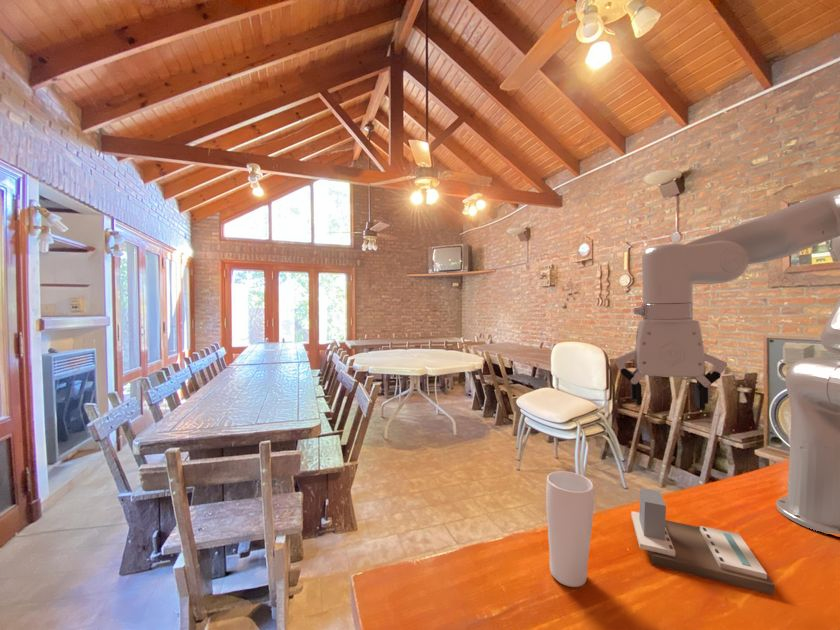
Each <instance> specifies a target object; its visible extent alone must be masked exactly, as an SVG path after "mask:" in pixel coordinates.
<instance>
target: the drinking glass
mask: <svg viewBox="0 0 840 630" xmlns="http://www.w3.org/2000/svg"><path fill="white" fill-rule="evenodd" d="M594 493H595V491H594V483H593V482H592V481H591V480H590V479H589V478H587V477H585V476H584V475H581V474H579V473H575V472H572V471H565V470H556V471H553V472H550V473H549V474H547V476H546V488H545V511H546V520H547V521H546V523H547V524H546V525H547V537H548V549H549V551H548V552H549V570H550V574H551V576H552V577H553V578H554V579H555V580H556V581H557V582H558V583H560V584H562V585H564V586H566V587H569V588H570V587H571V588H578V587H582V586H583V585H584V584H586V582H587V578H588V562H589V555H590V545H591V537H592V529H593V523H594V521H593V520H594V510H595V509H594V508H595V495H594Z"/></svg>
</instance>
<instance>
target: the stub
mask: <svg viewBox="0 0 840 630" xmlns="http://www.w3.org/2000/svg"><path fill="white" fill-rule="evenodd" d="M639 488H640V489H639V511H632V510H631V511H630V513H631V515H630V516H631V521H632V523H633V528H634V531H635V535H636V539H637V542H638V546H639V549H641V550H646V551H648V550H649V551H653V552H657V553H662V554H666V555H670V556H674V557H675V550H674V547H673V544H672V542H671V539H670V537H669V534H668V532H667V529H666V527H665V520H667V519H666V517H667V516H666V513H667V510H666V509H667V505H666V502H665V501H664V498H663V496H662V494H661V491H660V490H656V489H655V490H654V489H649V488H644V487H639ZM649 551H648V552H649Z"/></svg>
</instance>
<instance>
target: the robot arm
mask: <svg viewBox="0 0 840 630" xmlns="http://www.w3.org/2000/svg"><path fill="white" fill-rule="evenodd" d="M830 240H832V241H831V246H832V251H833V253H834V255H835V257H836V258H837V260H838V262H839V263H840V188H838V189H835V190H831V191H827V192H824V193H821V194H818V195H815V196H812V197H810V198H806V199H805V200H802V201H800V202H797V203H794V204H792V205H788V206H787V207H784V208H781V209H778V210H776V211H774V212H770V213H767V214H765V215H763V216H760V217H758V218H754V219H751V220H749V221H746V222H743V223H740V224H737V225H735V226H733V227H729V228H727V229H724V230H721V231H718V232H714V233H712V234H709V235H706V236H703V237H701V238H698V239H695V240H693V241H690V242H687V243H671V244H669V243H668V244H660V245H655V246H650V247H647V248H645V250H644V251H643V253H642V255H641V256H642V257H641V269H642V271H641V272H642V276H641V277H642V304H641V305H640V306H638V307H634V308H633V315H635V316H636V315H637V316H640V317H641V318H642V320H639V321H638V325H637V329H636V337H635V345H634V346H635V348H634V350H632V351H629V352H627V353H624V354H622V355H621V356H617V357H616V358H614V359H613V362H614V364H615V365H616V367H617V369H618V370H619V371H620V373H621V375H622V376H623V377H625V378H626V379H627V380H628V381H629V382H630V398H631V400H634V403H635V404H636V406H642V385H641V383H640V381H641V380H642V379H643V378H644V377H645V376H648V377H649V376H651V377H671V378H693V379H694V380H695V381H696V383H694V385H693V389H694V391H693V392H694V393H693V394H694V396H693V397H694V399H693V401H694V402H693V403H694V405H695V406H696V407H697V408H698V409H700V410H705V409H706V405H708V404H709V388H710V387H711V386H712V384H713V383H715V382H716V381H717V380H719V379H720V378H721V375H722V374H723V372H724V371H725V370H726V369H727V367H728V363H727V362H726V361H725V360H722V359H719V358H717V357H715V356H713V355H710V354H708V353H706V352H705V350H704V349H705V348H704V341H703V334H702V330H701V325H700V322H699V320H695V319H693V316H694V314H693V313H694V312H693V311H694V310H693V308H694V306H693V300H694V299H693V297H694V296H693V285H717V284H724V283H727V282H732V281H733V280H736V279H737V278H739V277H741V275H742V276H743V274H744V273H745V272H746V271H747V269H748V267H749V265H753V264H759V263H760V264H761V263H765V262H771V261H776V260H779V259H784V258H787V257H790V256H793V255H795V254H797V253H799V252H802V251H805V250H808V249H810V248H812V247H814V246H817V245H821V244H823V243H825V242H828V241H830ZM820 334H821V335H820V343H821V345H822V346H823V347H824V349H826V350H827V351H828V352H830V353H831V354H832V353H833V354H835V355H837V356H840V298H839V299H838V301H837V302H836V304H835V307H834V308H833V310H832V312H831V313H830V315H829V317H828V319H827V320H826V323H825V324H824V326H823V329H822V332H821V333H820ZM632 360H634V367H635V369H634V370H633V371H632V372H630V370H628V369H627V367H626V366H625V364H626V363H628V362H631V361H632ZM706 362H707V363H709V364H711V365H712V368H711V370H709V371H708V372H707V373H705V372H706ZM704 374H705V375H704ZM785 385H786V386H785V387H786V392H787V396H788V400H789V406H790V407H789V408H790V439H789V457H788V458H789V459H788V479H787V480H788V482H787V484H786V485H787V496H783V497H779V498H778V499H777V500H776V508H777V510H778V511H779V512H780V513H781V514H782V515H783V516H785V517H786V518H787V519H789V520H790V521H792V522H795V523H797V524H798V525H800V526H803V527H805V528H807V529H809V528H810V530H812V529H813V530H812V531H815V530H816V531H815V532H817V531H821V532H824V533H835V534H840V359H839V358H833V357H832V358H831V357H822V356H821V357H819V356H818V357H816V356H815V357H814V356H812V357H806V358H801V359H799V360H796V361H795V362H793V363H792V364H791V365H790V366H789V367H788V369H787V370H786V374H785Z"/></svg>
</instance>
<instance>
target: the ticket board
mask: <svg viewBox="0 0 840 630" xmlns="http://www.w3.org/2000/svg"><path fill="white" fill-rule="evenodd" d="M665 527H666V529H667V532H668V534H669V537H670V539H671V542H672V544H673V547H674V550H675V557H674V556H670V555H666V554H662V553H657V552H653V551H649V550H647V551H648V554H649V558H650V561H651V565H652V566H657V567H659V568H665V569H668V570H673V571H676V572H681V573H685V574H688V575H692V576H697V577H700V578H704V579H709V580H712V581H715V582H718V583H719V582H720V583H724V584H728V585H732V586H736V587H740V588H742V589H743V588H744V589H748V590H752V591H756V592H759V593H764V594H767V595H772V596H775V589H776V586H775V584H774V582H773V580H772V579H771V578H770V577H769V575H768V573H767V572H766V570H765V569H764V568H763V566H762V565H761V563H760V562H759V560H758V559H757V558H756V556H755V555H754V553H753V552H752V551H751V549H750V547H749V546H748V545H747V543H746V542H745V540H744V539H743V537H742V536H741V534H740V533H737V532H733V531H727V530H722V529H717V528H713V527H708V526H702V525H699V526H695V525H691V524H687V523H681V522H677V521H672V520H668V519H666V520H665Z"/></svg>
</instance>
